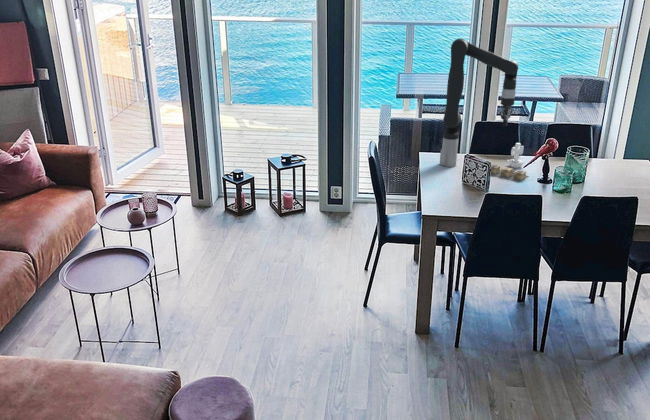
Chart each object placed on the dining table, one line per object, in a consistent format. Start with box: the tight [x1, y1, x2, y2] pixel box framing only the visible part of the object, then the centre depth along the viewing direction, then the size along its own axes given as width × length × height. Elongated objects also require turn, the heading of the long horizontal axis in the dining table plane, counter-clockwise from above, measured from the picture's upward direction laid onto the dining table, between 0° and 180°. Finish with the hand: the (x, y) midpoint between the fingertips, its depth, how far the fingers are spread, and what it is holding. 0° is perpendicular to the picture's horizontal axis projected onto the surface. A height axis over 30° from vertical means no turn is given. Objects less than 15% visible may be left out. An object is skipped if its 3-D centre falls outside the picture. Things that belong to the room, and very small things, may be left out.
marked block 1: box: [490, 163, 501, 174], centre depth 362 cm, size 5×5×4 cm
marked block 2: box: [513, 169, 527, 181], centre depth 353 cm, size 5×5×4 cm
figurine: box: [507, 142, 525, 169], centre depth 371 cm, size 7×9×15 cm
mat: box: [490, 169, 530, 183], centre depth 359 cm, size 22×14×1 cm, turn 50°
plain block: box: [500, 166, 514, 177], centre depth 358 cm, size 5×5×4 cm
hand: (504, 125), depth 359 cm, fingers closed
